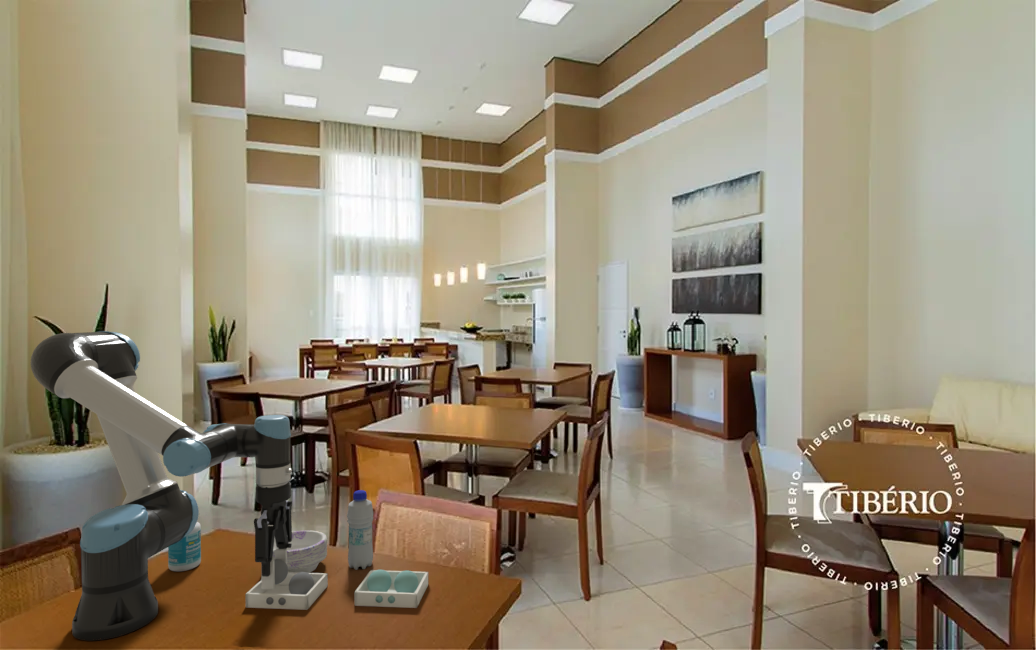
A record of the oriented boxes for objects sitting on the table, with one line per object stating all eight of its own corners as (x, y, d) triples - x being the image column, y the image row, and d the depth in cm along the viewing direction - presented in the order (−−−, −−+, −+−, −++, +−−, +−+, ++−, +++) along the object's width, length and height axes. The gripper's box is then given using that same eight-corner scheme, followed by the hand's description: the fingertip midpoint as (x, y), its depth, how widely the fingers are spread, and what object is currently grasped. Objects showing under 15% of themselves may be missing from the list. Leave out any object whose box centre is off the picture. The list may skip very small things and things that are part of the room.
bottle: (366, 573, 147) (366, 495, 147) (342, 571, 148) (341, 493, 148) (378, 562, 154) (377, 487, 153) (355, 560, 155) (354, 485, 155)
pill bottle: (190, 572, 148) (189, 520, 147) (161, 572, 148) (161, 520, 148) (206, 560, 155) (206, 510, 155) (179, 560, 155) (178, 510, 155)
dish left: (245, 610, 129) (244, 594, 129) (270, 585, 141) (270, 571, 140) (306, 612, 128) (306, 596, 128) (327, 587, 139) (327, 573, 139)
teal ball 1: (363, 599, 133) (363, 575, 133) (371, 587, 138) (371, 565, 138) (387, 600, 132) (387, 576, 132) (394, 588, 138) (394, 565, 138)
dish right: (354, 608, 130) (354, 592, 130) (370, 584, 141) (370, 570, 141) (416, 610, 129) (416, 594, 129) (428, 586, 140) (428, 571, 140)
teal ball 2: (391, 600, 132) (391, 576, 132) (398, 588, 138) (397, 565, 138) (415, 601, 132) (414, 577, 132) (420, 589, 137) (420, 566, 137)
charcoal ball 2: (284, 602, 132) (284, 578, 131) (295, 590, 137) (295, 567, 137) (307, 602, 131) (307, 578, 131) (318, 591, 137) (317, 568, 137)
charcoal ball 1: (258, 588, 132) (257, 564, 132) (270, 578, 138) (269, 554, 137) (281, 589, 132) (280, 565, 132) (292, 578, 137) (292, 555, 137)
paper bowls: (304, 553, 160) (304, 524, 160) (339, 567, 151) (339, 536, 151) (251, 573, 148) (251, 542, 147) (286, 589, 139) (285, 556, 138)
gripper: (269, 495, 125) (270, 602, 125) (306, 472, 143) (307, 565, 143) (235, 495, 125) (237, 601, 126) (277, 471, 144) (278, 564, 144)
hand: (274, 582), depth 135 cm, fingers closed on charcoal ball 1, 5 cm apart
